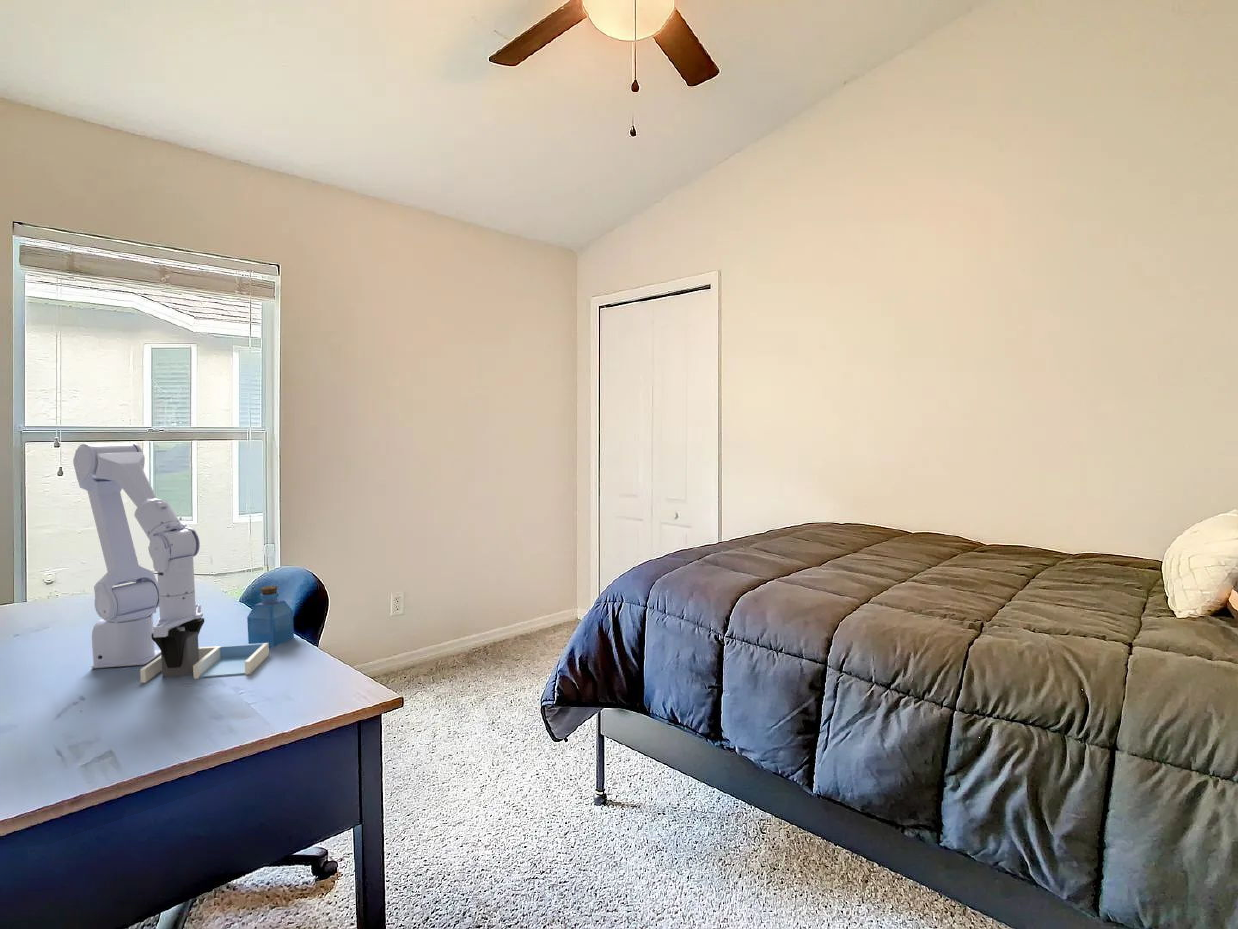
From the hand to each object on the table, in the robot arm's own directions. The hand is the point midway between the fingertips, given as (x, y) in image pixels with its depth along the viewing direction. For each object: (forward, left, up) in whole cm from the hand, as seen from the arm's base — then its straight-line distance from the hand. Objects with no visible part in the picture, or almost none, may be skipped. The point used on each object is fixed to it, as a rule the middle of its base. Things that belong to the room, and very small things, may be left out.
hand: (180, 662), depth 124 cm
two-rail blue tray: (+4, 0, -2) cm, 5 cm away
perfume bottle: (+11, +15, -2) cm, 19 cm away
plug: (0, 0, -2) cm, 2 cm away
